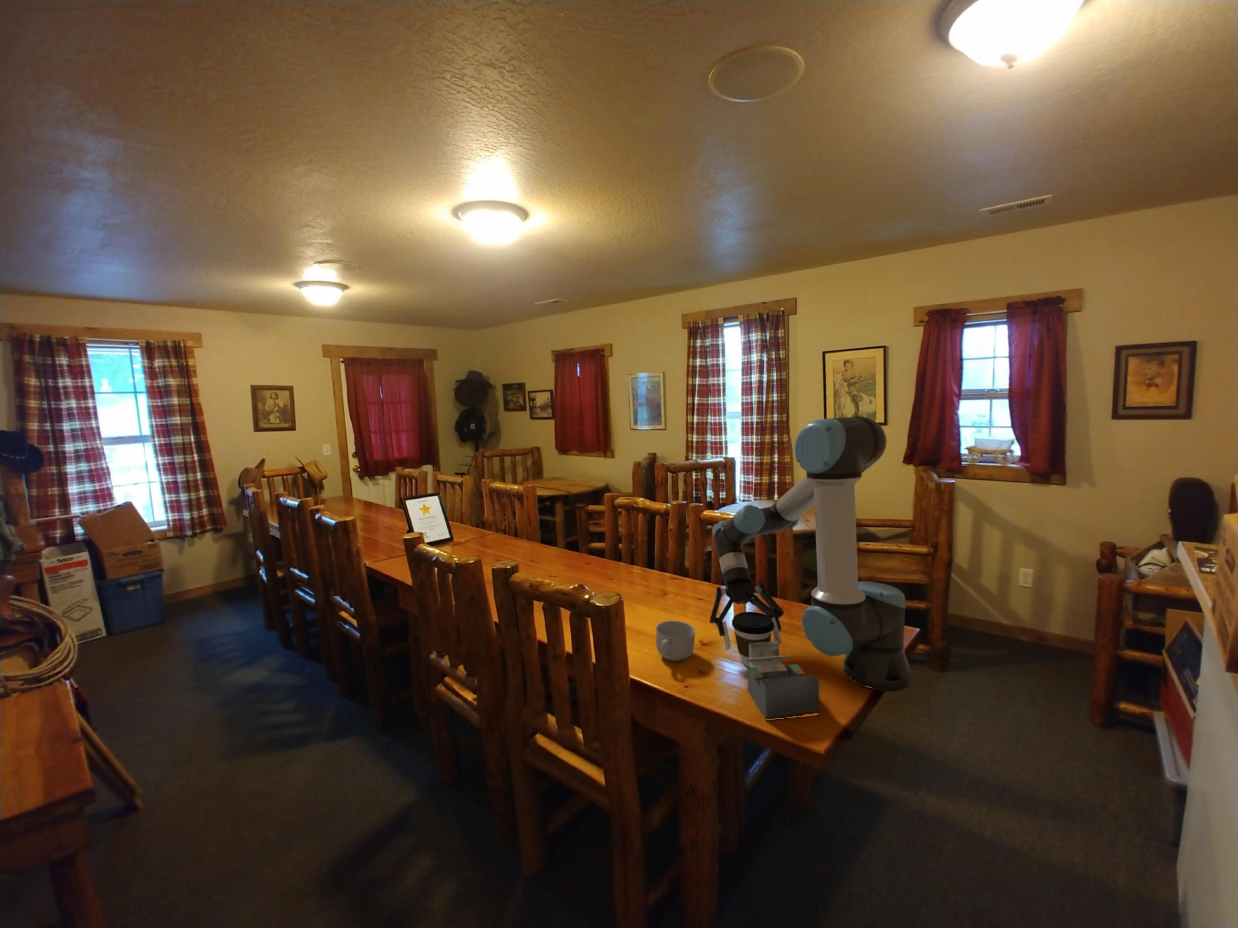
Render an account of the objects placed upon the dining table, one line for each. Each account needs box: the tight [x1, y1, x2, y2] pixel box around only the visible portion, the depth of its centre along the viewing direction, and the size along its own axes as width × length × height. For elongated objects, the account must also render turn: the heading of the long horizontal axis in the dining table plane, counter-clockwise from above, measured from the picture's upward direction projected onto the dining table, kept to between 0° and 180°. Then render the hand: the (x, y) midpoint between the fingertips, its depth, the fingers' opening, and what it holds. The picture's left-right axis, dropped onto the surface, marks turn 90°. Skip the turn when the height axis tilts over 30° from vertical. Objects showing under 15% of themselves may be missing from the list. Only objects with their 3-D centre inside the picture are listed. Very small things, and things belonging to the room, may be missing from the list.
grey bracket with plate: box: [746, 640, 792, 679], centre depth 125 cm, size 6×11×8 cm, turn 95°
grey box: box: [747, 663, 820, 720], centre depth 117 cm, size 12×12×8 cm
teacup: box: [655, 620, 696, 662], centre depth 140 cm, size 14×11×8 cm
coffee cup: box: [731, 611, 774, 668], centre depth 136 cm, size 11×11×12 cm
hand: (754, 645), depth 134 cm, fingers open, 13 cm apart
